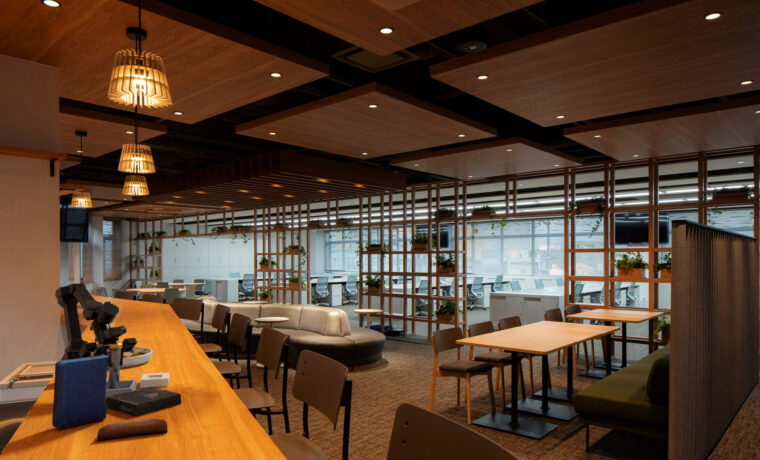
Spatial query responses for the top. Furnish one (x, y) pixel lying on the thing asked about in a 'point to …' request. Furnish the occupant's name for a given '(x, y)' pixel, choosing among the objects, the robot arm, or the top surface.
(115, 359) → the pin
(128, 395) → the portable cd player
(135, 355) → the bowl
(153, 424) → the sunglasses case
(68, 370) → the book
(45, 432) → the top surface
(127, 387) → the pin tray
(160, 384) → the pin socket block
